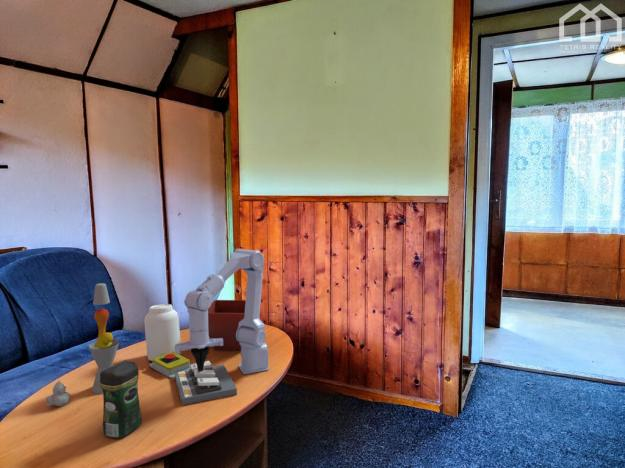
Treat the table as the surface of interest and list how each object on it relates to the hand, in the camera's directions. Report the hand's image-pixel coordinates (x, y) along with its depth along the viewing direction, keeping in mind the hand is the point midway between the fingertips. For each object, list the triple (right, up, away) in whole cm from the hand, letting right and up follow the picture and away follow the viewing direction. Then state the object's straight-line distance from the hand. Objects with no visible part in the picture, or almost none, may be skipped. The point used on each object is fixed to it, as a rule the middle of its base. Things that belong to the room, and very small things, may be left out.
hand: (200, 370), depth 135 cm
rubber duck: (-42, -9, -5) cm, 43 cm away
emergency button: (-16, -6, +21) cm, 27 cm away
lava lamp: (-33, -8, +7) cm, 34 cm away
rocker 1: (-3, -3, +13) cm, 14 cm away
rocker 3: (+2, -5, +1) cm, 5 cm away
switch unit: (-1, -8, +8) cm, 11 cm away
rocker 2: (-1, -4, +7) cm, 8 cm away
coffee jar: (-17, -11, -18) cm, 27 cm away
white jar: (-22, -5, +31) cm, 39 cm away
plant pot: (+2, -4, +45) cm, 45 cm away
